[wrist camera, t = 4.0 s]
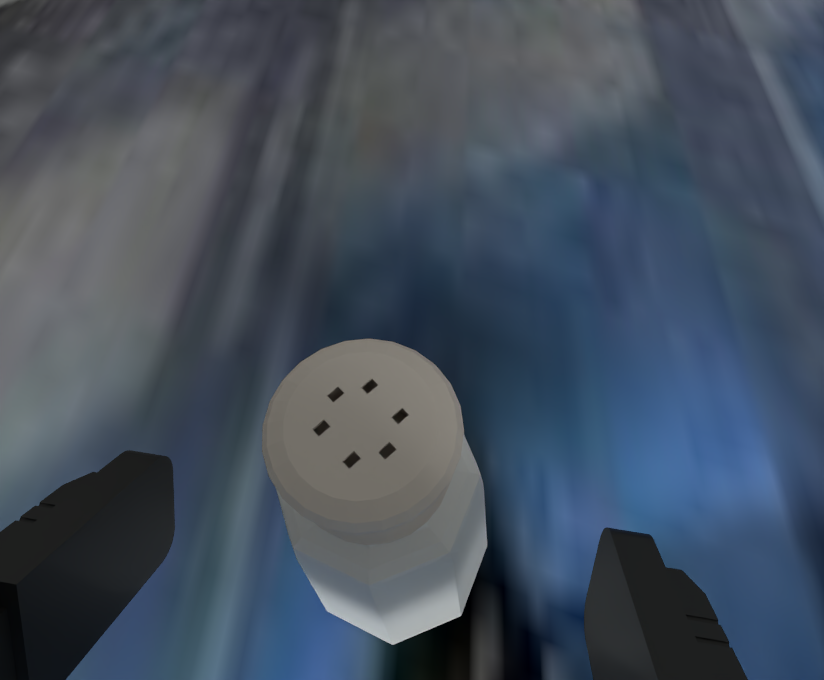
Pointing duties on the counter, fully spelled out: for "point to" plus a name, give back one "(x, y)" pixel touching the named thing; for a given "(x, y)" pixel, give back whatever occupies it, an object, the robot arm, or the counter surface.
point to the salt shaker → (377, 486)
